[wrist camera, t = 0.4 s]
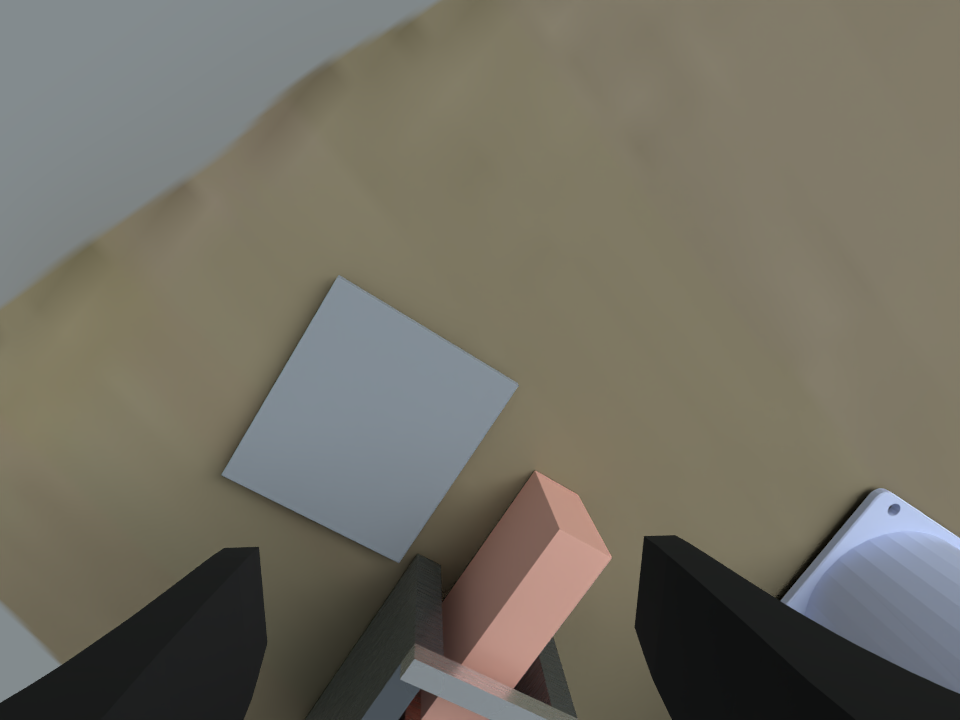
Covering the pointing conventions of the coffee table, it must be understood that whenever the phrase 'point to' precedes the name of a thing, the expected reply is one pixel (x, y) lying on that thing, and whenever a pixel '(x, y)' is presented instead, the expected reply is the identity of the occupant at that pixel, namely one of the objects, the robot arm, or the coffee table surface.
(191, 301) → the coffee table surface
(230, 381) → the coffee table surface
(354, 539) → the pad
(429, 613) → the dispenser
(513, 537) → the salmon pink brick
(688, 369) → the coffee table surface
